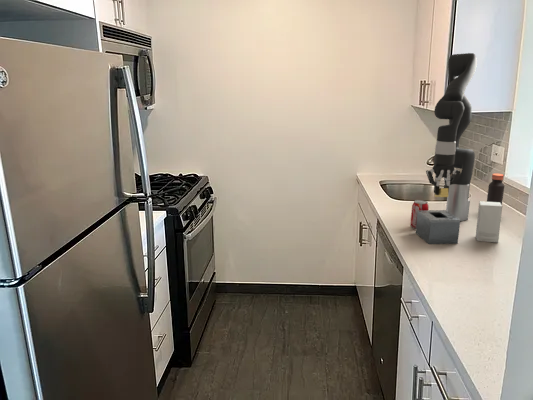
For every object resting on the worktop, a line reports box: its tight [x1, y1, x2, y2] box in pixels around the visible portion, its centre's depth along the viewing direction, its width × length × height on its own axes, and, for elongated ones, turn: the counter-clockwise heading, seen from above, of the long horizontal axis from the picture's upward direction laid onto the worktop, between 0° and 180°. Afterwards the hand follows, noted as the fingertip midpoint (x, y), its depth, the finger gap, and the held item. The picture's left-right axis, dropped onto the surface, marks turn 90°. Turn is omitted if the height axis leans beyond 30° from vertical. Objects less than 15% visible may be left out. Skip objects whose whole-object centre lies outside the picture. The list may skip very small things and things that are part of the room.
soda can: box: [410, 199, 430, 230], centre depth 204 cm, size 7×7×12 cm
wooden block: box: [434, 187, 448, 198], centre depth 187 cm, size 3×6×4 cm, turn 4°
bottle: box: [486, 173, 505, 206], centre depth 223 cm, size 7×7×20 cm
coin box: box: [415, 209, 461, 245], centre depth 191 cm, size 12×14×10 cm
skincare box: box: [475, 200, 503, 243], centre depth 189 cm, size 8×7×16 cm
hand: (440, 194), depth 187 cm, fingers closed on wooden block, 3 cm apart
